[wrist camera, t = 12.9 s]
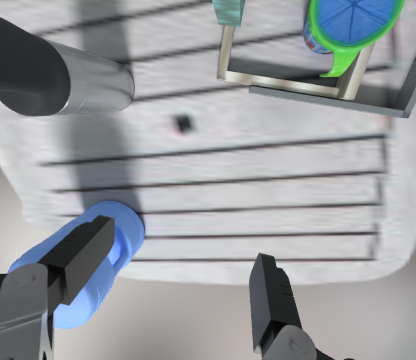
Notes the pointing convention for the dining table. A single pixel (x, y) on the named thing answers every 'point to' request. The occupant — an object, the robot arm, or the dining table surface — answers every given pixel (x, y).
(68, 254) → the robot arm
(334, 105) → the rectangular frame
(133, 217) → the water jug
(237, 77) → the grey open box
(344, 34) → the snack cup
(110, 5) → the dining table surface
